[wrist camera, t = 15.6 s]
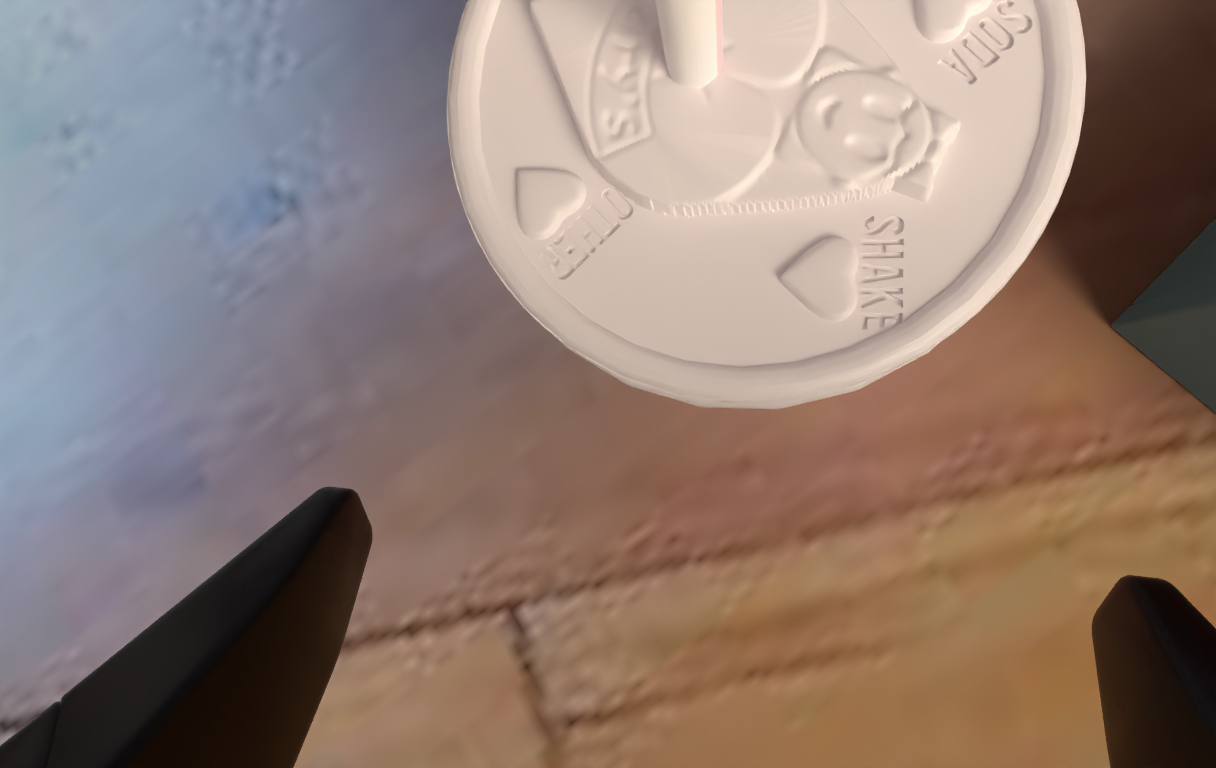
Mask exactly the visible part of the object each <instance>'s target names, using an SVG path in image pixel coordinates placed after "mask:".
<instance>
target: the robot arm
mask: <svg viewBox="0 0 1216 768" xmlns="http://www.w3.org/2000/svg"><path fill="white" fill-rule="evenodd" d="M371 544H372V527H371V524H370V522H369V520H368V517H367V515H366V512H365V510H364V508H363V505H362V503H361V500H360V498H359V496H358V494H357V493H356V492H355V491H354V490H352V489H346V488H337V487H324V488H321V489H319V490H318V491H316V492H315V493H314V494H312V495H311V496H310V497H309V498H308V499H306V500H305V501H304V502H303V503H301V504H300V505H299V506H298V507H296V508H295V509H294V510H293V511H291V512H290V513H289V514H288V515H286V516H285V517H284V518H283V519H282V520H280V521H279V522H278V523H277V524H275V525H274V526H273V527H272V528H270V529H269V530H268V531H267V532H265V533H264V534H263V535H262V536H260V537H259V538H258V539H257V540H256V541H254V542H253V543H252V544H251V545H249V546H248V547H247V548H246V549H244V550H243V551H242V552H241V553H239V554H238V555H237V556H236V557H234V558H233V559H232V560H231V561H230V562H228V563H227V564H226V565H225V566H223V567H222V568H221V569H220V570H218V571H217V572H216V573H215V574H213V575H212V576H211V577H210V578H208V579H207V580H206V581H205V582H204V583H202V584H201V585H200V586H199V587H197V588H196V589H195V590H194V591H192V592H191V593H190V594H189V595H187V596H186V597H185V598H184V599H182V600H181V601H180V602H179V603H178V604H176V605H175V606H174V607H173V608H171V609H170V610H169V611H168V612H166V613H165V614H164V615H163V616H161V617H160V618H159V619H158V620H156V621H155V622H154V623H153V624H152V625H150V626H149V627H148V628H147V629H145V630H144V631H143V632H142V633H140V634H139V635H138V636H137V637H135V638H134V639H133V640H132V641H130V642H129V643H128V644H127V645H126V646H124V647H123V648H122V649H121V650H119V651H118V652H117V653H116V654H114V655H113V656H112V657H111V658H109V659H108V660H107V661H106V662H104V663H103V664H102V665H101V666H100V667H98V668H97V669H96V670H95V671H93V672H92V673H91V674H90V675H88V676H87V677H86V678H85V679H83V680H82V681H81V682H80V683H78V684H77V685H76V686H75V687H74V688H72V689H71V690H70V691H69V692H67V693H66V694H65V695H64V696H63V697H62V699H61V702H55V703H53V704H52V705H51V706H50V707H48V708H47V709H46V710H45V711H43V712H42V713H41V714H40V715H39V716H37V717H36V718H35V719H34V720H32V721H31V722H30V723H29V724H27V725H26V726H25V727H24V728H22V729H21V730H20V731H19V732H17V733H16V734H15V735H13V736H12V737H11V738H10V739H8V740H7V741H6V742H4V743H3V744H2V745H1V746H0V768H293V767H294V765H295V762H296V760H297V757H298V755H299V753H300V750H301V748H302V745H303V743H304V740H305V738H306V735H307V733H308V731H309V728H310V726H311V723H312V721H313V718H314V716H315V714H316V711H317V709H318V706H319V704H320V701H321V699H322V696H323V694H324V692H325V689H326V687H327V684H328V682H329V679H330V677H331V674H332V672H333V669H334V667H335V664H336V662H337V659H338V656H339V654H340V650H341V647H342V644H343V641H344V638H345V635H346V631H347V628H348V624H349V621H350V617H351V614H352V610H353V607H354V603H355V600H356V596H357V593H358V589H359V586H360V583H361V579H362V576H363V572H364V569H365V565H366V562H367V558H368V555H369V551H370V548H371ZM1092 638H1093V645H1094V653H1095V660H1096V668H1097V675H1098V683H1099V690H1100V697H1101V705H1102V712H1103V720H1104V727H1105V735H1106V742H1107V749H1108V755H1109V761H1110V767H1111V768H1216V629H1215V627H1214V626H1213V625H1212V624H1211V623H1210V622H1209V621H1208V620H1207V619H1206V618H1205V617H1204V616H1203V615H1202V614H1201V613H1200V612H1199V611H1198V610H1197V609H1196V608H1195V607H1194V606H1193V605H1192V604H1191V603H1190V602H1189V601H1188V600H1187V599H1186V598H1185V597H1184V595H1183V594H1182V593H1181V592H1180V591H1179V590H1178V589H1177V588H1176V587H1175V586H1173V585H1172V584H1171V583H1169V582H1167V581H1165V580H1163V579H1159V578H1150V577H1141V576H1132V575H1127V576H1125V577H1122V578H1120V579H1119V581H1118V582H1117V583H1116V584H1115V586H1114V587H1113V589H1112V590H1111V591H1110V593H1109V594H1108V596H1107V597H1106V598H1105V600H1104V601H1103V602H1102V604H1101V605H1100V607H1099V608H1098V609H1097V611H1096V613H1095V615H1094V618H1093V622H1092Z"/></svg>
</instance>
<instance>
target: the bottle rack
mask: <svg viewBox="0 0 1216 768" xmlns="http://www.w3.org/2000/svg"><path fill="white" fill-rule="evenodd" d="M1111 327H1112V328H1113V329H1114V330H1115V331H1117V332H1118V333H1119V334H1120V335H1121V336H1123V337H1124V338H1125V339H1126V340H1128V341H1129V342H1130V343H1131V344H1132V345H1134V346H1135V347H1136V348H1137V349H1138V350H1140V351H1141V352H1142V353H1143V354H1145V355H1146V356H1147V357H1148V358H1149V359H1151V360H1152V361H1153V362H1154V363H1155V364H1157V365H1158V366H1159V367H1160V368H1162V369H1163V370H1164V371H1165V372H1166V373H1168V374H1169V375H1170V376H1171V377H1172V378H1174V379H1175V380H1176V381H1177V382H1179V383H1180V384H1181V385H1182V386H1183V387H1185V388H1186V389H1187V390H1188V391H1189V392H1191V393H1192V394H1193V395H1194V396H1196V397H1197V398H1198V399H1199V400H1200V401H1202V402H1203V403H1204V404H1205V405H1206V406H1208V407H1209V408H1210V409H1211V410H1213V411H1214V412H1215V413H1216V218H1215V219H1214V220H1213V221H1212V222H1211V223H1210V224H1209V225H1208V226H1207V227H1206V228H1205V229H1204V230H1203V231H1202V232H1201V233H1200V234H1199V235H1198V236H1197V237H1196V239H1195V240H1194V241H1193V242H1192V243H1191V244H1190V245H1189V246H1188V247H1187V248H1186V249H1185V250H1184V251H1183V252H1182V253H1181V254H1180V255H1179V256H1178V257H1177V258H1176V259H1175V260H1174V261H1173V262H1172V263H1171V264H1170V265H1169V266H1168V267H1167V268H1166V269H1165V270H1164V271H1163V272H1162V273H1161V274H1160V275H1159V276H1158V277H1157V278H1156V279H1155V280H1154V281H1153V282H1152V283H1151V284H1150V285H1149V286H1148V287H1147V288H1146V289H1145V290H1144V291H1143V293H1142V294H1141V295H1140V296H1139V297H1138V298H1137V299H1136V300H1135V301H1134V302H1133V304H1132V306H1129V307H1128V308H1127V309H1126V310H1125V311H1124V312H1123V313H1122V314H1121V315H1120V316H1119V317H1118V318H1117V319H1116V320H1115V321H1114V322H1113V323H1112V325H1111Z"/></svg>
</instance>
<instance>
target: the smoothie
mask: <svg viewBox="0 0 1216 768" xmlns="http://www.w3.org/2000/svg"><path fill="white" fill-rule="evenodd" d="M1085 87H1086V63H1085V44H1084V37H1083V31H1082V25H1081V19H1080V12H1079V9H1078V5H1077V1H1076V0H467V3H466V6H465V8H464V11H463V14H462V17H461V20H460V24H459V28H458V31H457V35H456V39H455V42H454V47H453V53H452V59H451V64H450V70H449V80H448V92H447V132H448V140H449V149H450V158H451V163H452V167H453V172H454V177H455V182H456V186H457V189H458V192H459V196H460V199H461V202H462V205H463V208H464V211H465V214H466V216H467V219H468V221H469V223H470V226H471V228H472V230H473V233H474V235H475V237H476V239H477V241H478V243H479V245H480V247H481V248H482V250H483V252H484V254H485V256H486V257H487V259H488V261H489V263H490V264H491V266H492V267H493V269H494V270H495V272H496V273H497V275H498V276H499V277H500V279H501V280H502V282H503V283H504V285H505V286H506V287H507V289H508V290H509V291H510V292H511V293H512V295H513V296H514V297H515V298H516V299H517V300H518V302H519V303H520V304H521V305H522V306H523V307H524V309H525V310H526V311H527V312H529V313H530V314H531V315H532V316H533V317H534V318H535V319H536V320H537V321H538V322H539V323H540V324H541V325H542V326H543V327H544V328H545V329H546V330H548V331H549V332H550V333H551V334H553V335H554V336H555V337H556V338H557V339H558V340H559V341H560V342H561V343H562V344H563V345H564V346H565V347H566V348H567V349H569V350H570V351H572V352H574V353H575V354H577V355H578V356H580V357H582V358H583V359H585V360H587V361H588V362H590V363H592V364H593V365H595V366H596V367H598V368H600V369H601V370H603V371H605V372H606V373H608V374H610V375H611V376H613V377H615V378H616V379H618V380H619V381H621V382H623V383H624V384H626V385H628V386H630V387H634V388H637V389H640V390H644V391H647V392H651V393H654V394H657V395H661V396H664V397H668V398H671V399H675V400H678V401H681V402H685V403H688V404H692V405H695V406H698V407H712V408H753V409H781V408H786V407H790V406H794V405H798V404H803V403H807V402H811V401H815V400H820V399H824V398H828V397H832V396H837V395H841V394H845V393H849V392H853V391H857V390H859V389H861V388H863V387H865V386H867V385H868V384H870V383H872V382H874V381H876V380H878V379H880V378H882V377H884V376H885V375H887V374H889V373H891V372H893V371H895V370H897V369H899V368H900V367H902V366H904V365H906V364H908V363H910V362H912V361H914V360H916V359H917V358H919V357H921V356H923V355H925V354H927V353H929V352H930V351H931V350H932V349H933V348H934V347H935V346H936V345H937V344H938V343H940V342H941V341H943V340H944V339H946V338H947V337H948V336H950V335H951V334H953V333H954V332H955V331H957V330H958V329H959V328H960V327H961V326H963V325H964V324H965V323H966V322H967V321H969V320H970V319H971V318H972V317H973V316H975V315H976V314H977V313H978V312H979V311H980V310H981V309H982V308H983V307H984V306H985V305H986V304H987V303H988V302H989V301H990V300H991V299H992V298H993V297H994V296H995V295H996V294H997V293H998V292H999V291H1000V290H1001V289H1002V288H1003V287H1004V286H1005V284H1006V283H1007V282H1008V281H1009V279H1010V278H1011V277H1012V276H1013V274H1014V273H1015V272H1016V271H1017V270H1018V268H1019V267H1020V266H1021V265H1022V263H1023V262H1024V261H1025V259H1026V258H1027V256H1028V255H1029V253H1030V252H1031V250H1032V249H1033V247H1034V245H1035V244H1036V242H1037V241H1038V239H1039V238H1040V236H1041V235H1042V233H1043V231H1044V229H1045V227H1046V225H1047V224H1048V222H1049V220H1050V218H1051V216H1052V214H1053V212H1054V210H1055V208H1056V206H1057V204H1058V202H1059V199H1060V197H1061V194H1062V192H1063V189H1064V187H1065V184H1066V182H1067V179H1068V176H1069V174H1070V171H1071V167H1072V164H1073V160H1074V156H1075V153H1076V149H1077V146H1078V142H1079V137H1080V131H1081V125H1082V119H1083V113H1084V104H1085Z"/></svg>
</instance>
